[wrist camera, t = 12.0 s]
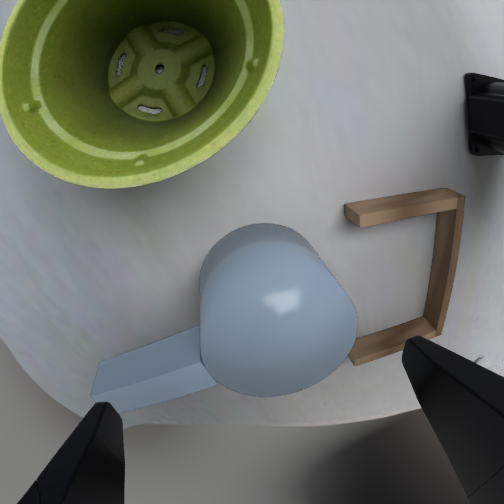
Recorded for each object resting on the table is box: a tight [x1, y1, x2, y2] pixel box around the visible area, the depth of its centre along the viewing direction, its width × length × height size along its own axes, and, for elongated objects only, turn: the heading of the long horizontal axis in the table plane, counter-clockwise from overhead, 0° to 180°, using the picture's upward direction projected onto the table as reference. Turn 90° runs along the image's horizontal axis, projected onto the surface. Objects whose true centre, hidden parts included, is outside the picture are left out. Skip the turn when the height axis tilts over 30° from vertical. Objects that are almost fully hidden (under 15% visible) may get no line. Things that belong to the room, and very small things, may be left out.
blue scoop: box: [90, 223, 358, 413], centre depth 18 cm, size 16×8×6 cm, turn 113°
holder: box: [344, 188, 465, 366], centre depth 21 cm, size 9×13×2 cm
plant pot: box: [0, 0, 284, 189], centre depth 10 cm, size 9×9×9 cm
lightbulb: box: [476, 358, 504, 377], centre depth 26 cm, size 6×6×11 cm
